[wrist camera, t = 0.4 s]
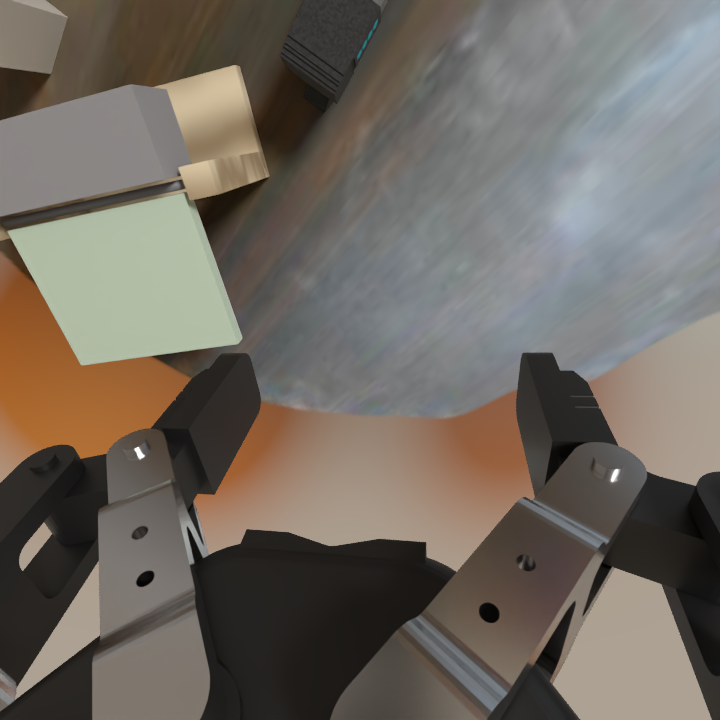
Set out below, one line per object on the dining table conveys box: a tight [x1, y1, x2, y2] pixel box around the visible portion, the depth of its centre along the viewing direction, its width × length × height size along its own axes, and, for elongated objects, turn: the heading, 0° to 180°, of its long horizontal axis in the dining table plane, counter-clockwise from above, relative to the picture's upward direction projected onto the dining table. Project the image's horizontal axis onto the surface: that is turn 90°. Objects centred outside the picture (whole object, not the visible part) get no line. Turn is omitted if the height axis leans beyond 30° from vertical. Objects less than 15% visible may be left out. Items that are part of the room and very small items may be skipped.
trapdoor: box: [0, 84, 242, 365], centre depth 31 cm, size 17×15×4 cm
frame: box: [0, 65, 270, 241], centre depth 33 cm, size 8×19×11 cm, turn 101°
